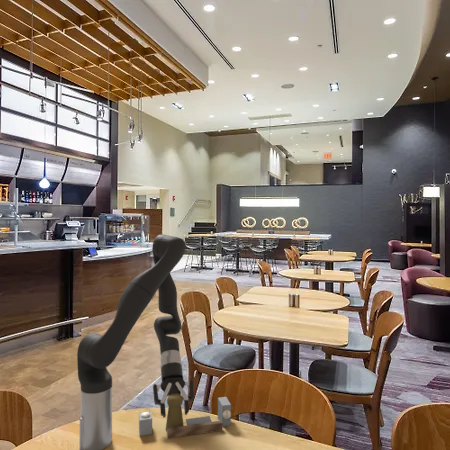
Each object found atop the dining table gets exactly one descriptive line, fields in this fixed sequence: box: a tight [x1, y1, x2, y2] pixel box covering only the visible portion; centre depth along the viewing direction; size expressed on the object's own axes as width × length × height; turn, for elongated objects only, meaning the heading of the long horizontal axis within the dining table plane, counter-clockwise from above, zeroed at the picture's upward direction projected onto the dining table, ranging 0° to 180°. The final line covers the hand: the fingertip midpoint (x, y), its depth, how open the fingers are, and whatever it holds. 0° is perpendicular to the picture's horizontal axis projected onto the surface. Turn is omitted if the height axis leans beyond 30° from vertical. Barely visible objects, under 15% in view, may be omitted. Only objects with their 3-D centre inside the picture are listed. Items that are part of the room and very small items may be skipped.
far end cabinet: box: [217, 396, 232, 427], centre depth 126 cm, size 3×7×7 cm, turn 15°
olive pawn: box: [165, 394, 185, 432], centre depth 122 cm, size 6×6×11 cm
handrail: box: [166, 420, 224, 439], centre depth 120 cm, size 18×2×2 cm, turn 105°
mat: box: [185, 415, 213, 425], centre depth 125 cm, size 8×8×1 cm
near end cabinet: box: [138, 410, 153, 437], centre depth 121 cm, size 4×5×6 cm
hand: (175, 415), depth 121 cm, fingers open, 6 cm apart
